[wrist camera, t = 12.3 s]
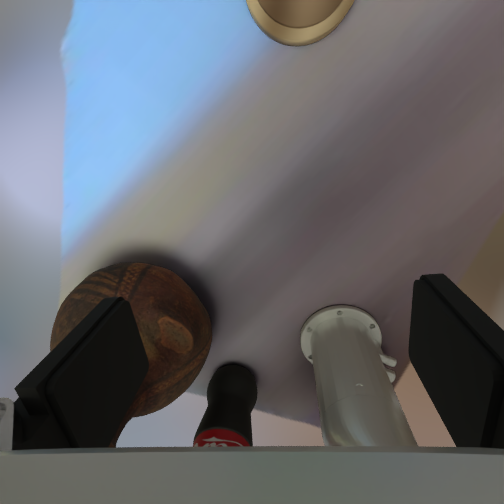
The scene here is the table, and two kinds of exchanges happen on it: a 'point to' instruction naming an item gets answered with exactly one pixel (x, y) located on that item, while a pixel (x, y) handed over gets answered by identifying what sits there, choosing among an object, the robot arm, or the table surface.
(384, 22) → the table surface
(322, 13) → the pedestal
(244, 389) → the cola bottle
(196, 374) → the brown vase
